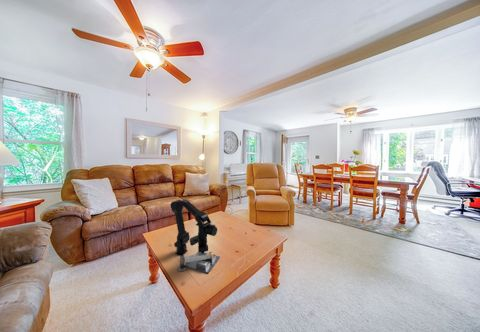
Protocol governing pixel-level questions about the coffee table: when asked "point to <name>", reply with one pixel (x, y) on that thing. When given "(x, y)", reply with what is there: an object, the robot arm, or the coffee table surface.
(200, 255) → the cable arm
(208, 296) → the coffee table surface
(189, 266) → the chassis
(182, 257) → the pivot post
